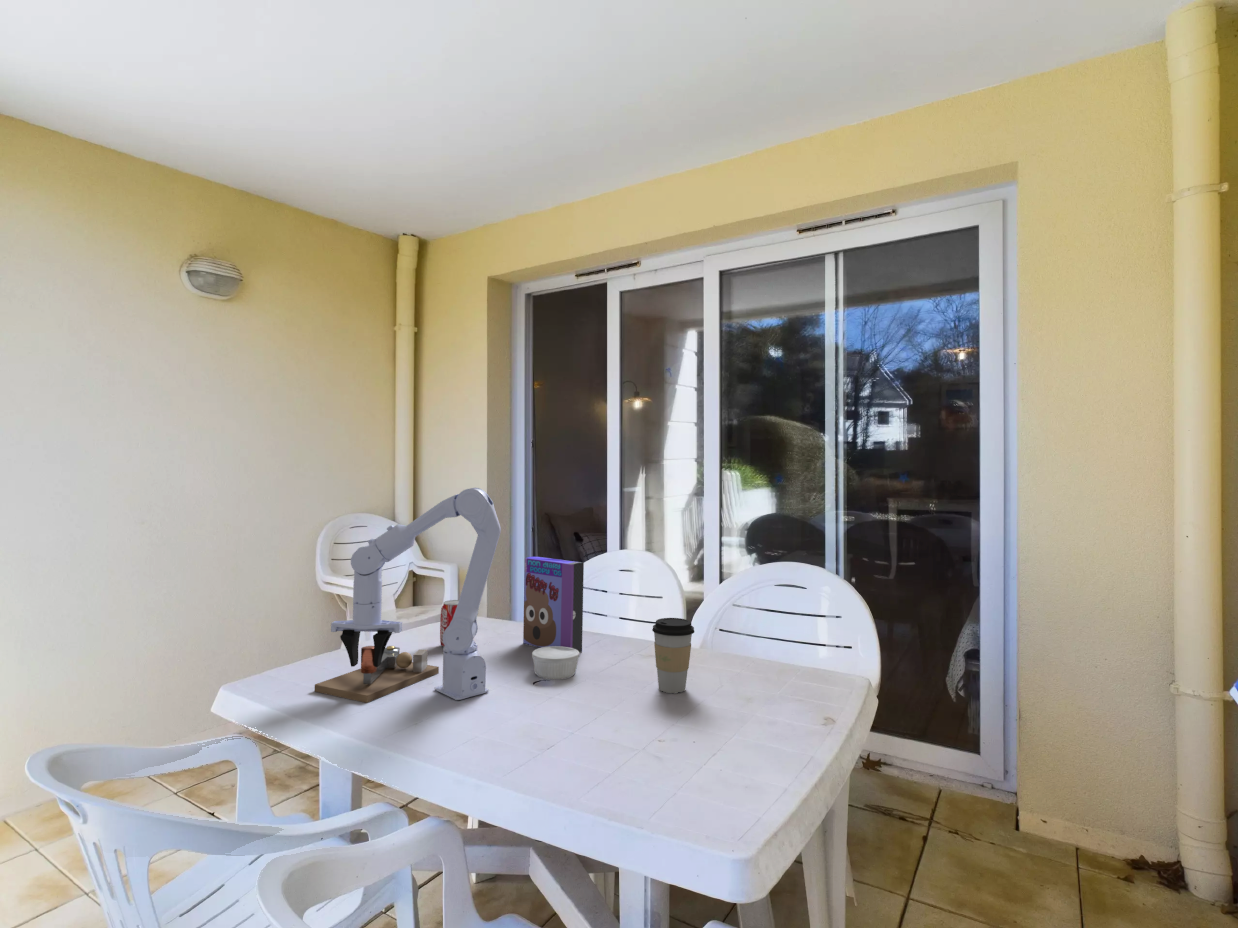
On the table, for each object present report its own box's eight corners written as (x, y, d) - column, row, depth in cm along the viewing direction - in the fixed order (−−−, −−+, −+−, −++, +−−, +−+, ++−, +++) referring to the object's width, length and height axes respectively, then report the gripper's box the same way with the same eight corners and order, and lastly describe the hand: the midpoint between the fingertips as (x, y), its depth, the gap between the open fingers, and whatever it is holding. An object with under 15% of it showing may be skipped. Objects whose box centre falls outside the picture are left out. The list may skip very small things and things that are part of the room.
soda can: (462, 650, 172) (463, 604, 172) (436, 649, 172) (437, 604, 172) (469, 643, 179) (470, 599, 179) (444, 642, 179) (445, 599, 179)
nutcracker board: (389, 664, 158) (390, 641, 158) (438, 673, 152) (439, 649, 152) (314, 691, 138) (315, 665, 138) (367, 702, 132) (367, 675, 132)
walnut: (403, 664, 152) (403, 649, 152) (415, 666, 150) (415, 651, 150) (392, 668, 149) (392, 653, 149) (404, 670, 147) (404, 655, 147)
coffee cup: (644, 691, 142) (645, 623, 142) (661, 679, 150) (662, 615, 150) (684, 699, 137) (685, 628, 137) (699, 686, 146) (700, 620, 146)
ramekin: (582, 668, 158) (582, 646, 158) (574, 682, 147) (575, 659, 147) (537, 665, 159) (538, 644, 159) (526, 680, 148) (527, 657, 148)
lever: (384, 659, 156) (385, 627, 156) (403, 659, 156) (404, 627, 156) (356, 686, 136) (357, 649, 136) (378, 686, 137) (379, 649, 137)
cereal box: (523, 643, 179) (524, 557, 179) (535, 640, 183) (537, 555, 183) (570, 655, 169) (571, 563, 169) (582, 651, 172) (583, 561, 173)
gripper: (407, 598, 142) (405, 660, 142) (341, 597, 142) (339, 659, 142) (396, 605, 135) (395, 669, 135) (327, 604, 135) (325, 669, 135)
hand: (366, 665), depth 138 cm, fingers open, 4 cm apart
